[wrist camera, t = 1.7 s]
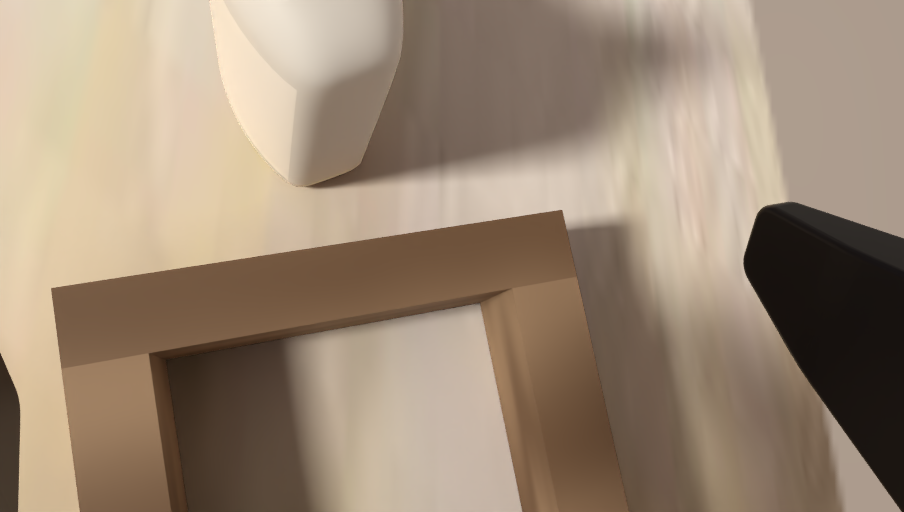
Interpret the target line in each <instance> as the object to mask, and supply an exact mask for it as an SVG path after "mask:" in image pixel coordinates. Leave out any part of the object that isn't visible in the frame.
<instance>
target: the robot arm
mask: <svg viewBox="0 0 904 512" xmlns="http://www.w3.org/2000/svg"><path fill="white" fill-rule="evenodd" d="M743 264H744V270H745V273H746V276H747V278H748V280H749V282H750V283H751V285H752V287H753V289H754V290H755V292H756V294H757V295H758V297H759V299H760V301H761V302H762V304H763V306H764V308H765V309H766V311H767V313H768V315H769V316H770V318H771V320H772V322H773V323H774V325H775V327H776V329H777V330H778V332H779V334H780V336H781V337H782V339H783V341H784V343H785V344H786V346H787V348H788V350H789V351H790V353H791V355H792V356H793V358H794V360H795V361H796V363H797V365H798V366H799V368H800V369H801V371H802V372H803V374H804V375H805V377H806V378H807V380H808V381H809V383H810V384H811V386H812V387H813V388H814V390H815V391H816V392H817V394H818V395H819V397H820V398H821V399H822V401H823V402H824V404H825V405H826V406H827V408H828V409H829V411H830V412H831V413H832V415H833V416H834V418H835V419H836V420H837V422H838V423H839V425H840V426H841V427H842V429H843V430H844V432H845V433H846V434H847V436H848V437H849V439H850V440H851V441H852V443H853V444H854V446H855V447H856V448H857V450H858V451H859V453H860V454H861V455H862V457H863V458H864V459H865V461H866V462H867V464H868V465H869V466H870V468H871V469H872V471H873V472H874V473H875V475H876V476H877V478H878V479H879V481H880V482H881V483H882V485H883V486H884V488H885V489H886V490H887V492H888V493H889V495H890V496H891V497H892V499H893V500H894V502H895V503H896V504H897V506H898V507H899V509H900V510H901V511H902V512H904V238H901V237H898V236H894V235H892V234H889V233H886V232H882V231H879V230H877V229H874V228H870V227H867V226H865V225H861V224H859V223H856V222H853V221H850V220H847V219H844V218H841V217H838V216H835V215H832V214H829V213H826V212H823V211H820V210H817V209H814V208H811V207H808V206H805V205H802V204H799V203H795V202H785V203H779V204H773V205H767V206H765V207H763V208H762V209H761V210H760V211H759V212H758V214H757V216H756V219H755V222H754V225H753V228H752V232H751V235H750V238H749V241H748V245H747V248H746V251H745V254H744V262H743ZM19 447H20V404H19V398H18V394H17V391H16V388H15V386H14V384H13V381H12V379H11V377H10V375H9V372H8V370H7V368H6V365H5V363H4V361H3V358H2V356H1V354H0V512H18V490H19Z"/></svg>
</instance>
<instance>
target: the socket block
mask: <svg viewBox="0 0 904 512" xmlns="http://www.w3.org/2000/svg"><path fill="white" fill-rule="evenodd" d="M51 291H52V298H53V306H54V314H55V322H56V329H57V337H58V345H59V353H60V360H61V368H62V376H63V384H64V392H65V399H66V407H67V415H68V423H69V430H70V438H71V446H72V454H73V462H74V469H75V477H76V485H77V493H78V500H79V508H80V512H188V507H187V501H186V494H185V487H184V480H183V473H182V467H181V460H180V453H179V446H178V439H177V433H176V426H175V419H174V412H173V405H172V398H171V392H170V385H169V378H168V371H167V364H166V360H168V359H173V358H179V357H184V356H190V355H195V354H201V353H206V352H212V351H217V350H223V349H228V348H234V347H239V346H245V345H250V344H256V343H261V342H267V341H272V340H278V339H283V338H289V337H294V336H300V335H305V334H311V333H316V332H322V331H327V330H333V329H338V328H344V327H349V326H355V325H360V324H366V323H371V322H377V321H382V320H388V319H393V318H399V317H404V316H410V315H415V314H421V313H426V312H432V311H437V310H443V309H448V308H454V307H459V306H465V305H470V304H476V303H480V305H481V310H482V314H483V319H484V324H485V329H486V334H487V339H488V344H489V349H490V354H491V359H492V364H493V369H494V373H495V378H496V383H497V388H498V393H499V398H500V403H501V408H502V413H503V418H504V423H505V427H506V432H507V437H508V442H509V447H510V452H511V457H512V462H513V467H514V472H515V477H516V482H517V486H518V491H519V496H520V501H521V506H522V511H523V512H629V509H628V505H627V500H626V496H625V491H624V487H623V482H622V478H621V473H620V469H619V464H618V460H617V455H616V451H615V446H614V442H613V437H612V433H611V428H610V424H609V419H608V415H607V410H606V406H605V401H604V397H603V392H602V388H601V383H600V379H599V374H598V370H597V365H596V361H595V356H594V351H593V347H592V342H591V338H590V333H589V329H588V324H587V320H586V315H585V311H584V306H583V302H582V297H581V293H580V288H579V284H578V279H577V275H576V270H575V266H574V261H573V257H572V252H571V248H570V243H569V239H568V234H567V230H566V225H565V221H564V216H563V212H562V210H558V211H552V212H545V213H539V214H532V215H525V216H519V217H512V218H506V219H499V220H493V221H486V222H480V223H473V224H467V225H460V226H454V227H447V228H441V229H434V230H428V231H421V232H415V233H408V234H402V235H395V236H389V237H382V238H376V239H369V240H363V241H356V242H349V243H343V244H336V245H330V246H323V247H317V248H310V249H304V250H297V251H291V252H284V253H278V254H271V255H265V256H258V257H252V258H245V259H239V260H232V261H226V262H219V263H213V264H206V265H200V266H193V267H186V268H180V269H173V270H167V271H160V272H154V273H147V274H141V275H134V276H128V277H121V278H115V279H108V280H102V281H95V282H89V283H82V284H76V285H69V286H63V287H56V288H51Z"/></svg>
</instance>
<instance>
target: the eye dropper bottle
mask: <svg viewBox="0 0 904 512" xmlns="http://www.w3.org/2000/svg"><path fill="white" fill-rule="evenodd" d="M209 2H210V9H211V16H212V23H213V29H214V36H215V43H216V50H217V56H218V62H219V68H220V73H221V77H222V81H223V85H224V89H225V92H226V95H227V98H228V101H229V103H230V106H231V108H232V111H233V113H234V115H235V117H236V119H237V121H238V123H239V125H240V127H241V129H242V130H243V132H244V134H245V135H246V137H247V139H248V140H249V141H250V143H251V144H252V146H253V147H254V149H255V150H256V151H257V152H258V154H259V155H260V156H261V157H262V159H263V160H264V161H265V162H266V163H267V164H268V165H269V166H270V167H271V168H272V169H273V170H274V171H275V172H276V173H277V174H278V175H279V176H280V177H281V178H282V179H283V180H285V181H286V182H287V183H290V184H292V185H294V186H296V187H301V186H310V185H313V184H316V183H319V182H322V181H325V180H328V179H330V178H333V177H336V176H339V175H341V174H344V173H346V172H349V171H351V170H353V169H354V168H356V167H357V166H358V165H359V164H360V163H361V161H362V159H363V156H364V154H365V151H366V149H367V146H368V144H369V141H370V139H371V136H372V133H373V131H374V128H375V126H376V123H377V121H378V118H379V116H380V113H381V110H382V108H383V105H384V103H385V100H386V97H387V95H388V92H389V89H390V87H391V84H392V81H393V79H394V76H395V73H396V70H397V67H398V64H399V61H400V58H401V51H402V42H403V0H209Z"/></svg>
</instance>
